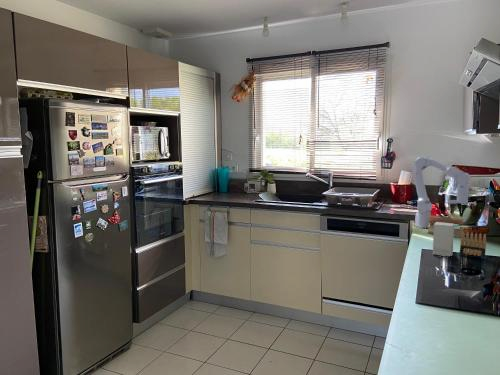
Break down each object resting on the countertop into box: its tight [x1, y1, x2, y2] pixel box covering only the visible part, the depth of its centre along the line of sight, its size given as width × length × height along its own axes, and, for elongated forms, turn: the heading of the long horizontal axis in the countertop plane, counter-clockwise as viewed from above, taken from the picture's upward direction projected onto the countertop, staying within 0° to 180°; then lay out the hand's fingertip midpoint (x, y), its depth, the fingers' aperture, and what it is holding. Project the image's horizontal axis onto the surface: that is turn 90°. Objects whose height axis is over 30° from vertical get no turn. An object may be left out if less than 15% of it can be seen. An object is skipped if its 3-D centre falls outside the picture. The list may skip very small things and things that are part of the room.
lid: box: [429, 215, 465, 225], centre depth 234 cm, size 13×18×1 cm
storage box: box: [427, 223, 464, 238], centre depth 234 cm, size 12×18×4 cm, turn 65°
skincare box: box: [432, 222, 455, 256], centre depth 189 cm, size 8×7×16 cm
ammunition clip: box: [459, 230, 487, 258], centre depth 187 cm, size 11×2×12 cm, turn 58°
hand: (461, 216), depth 234 cm, fingers closed
